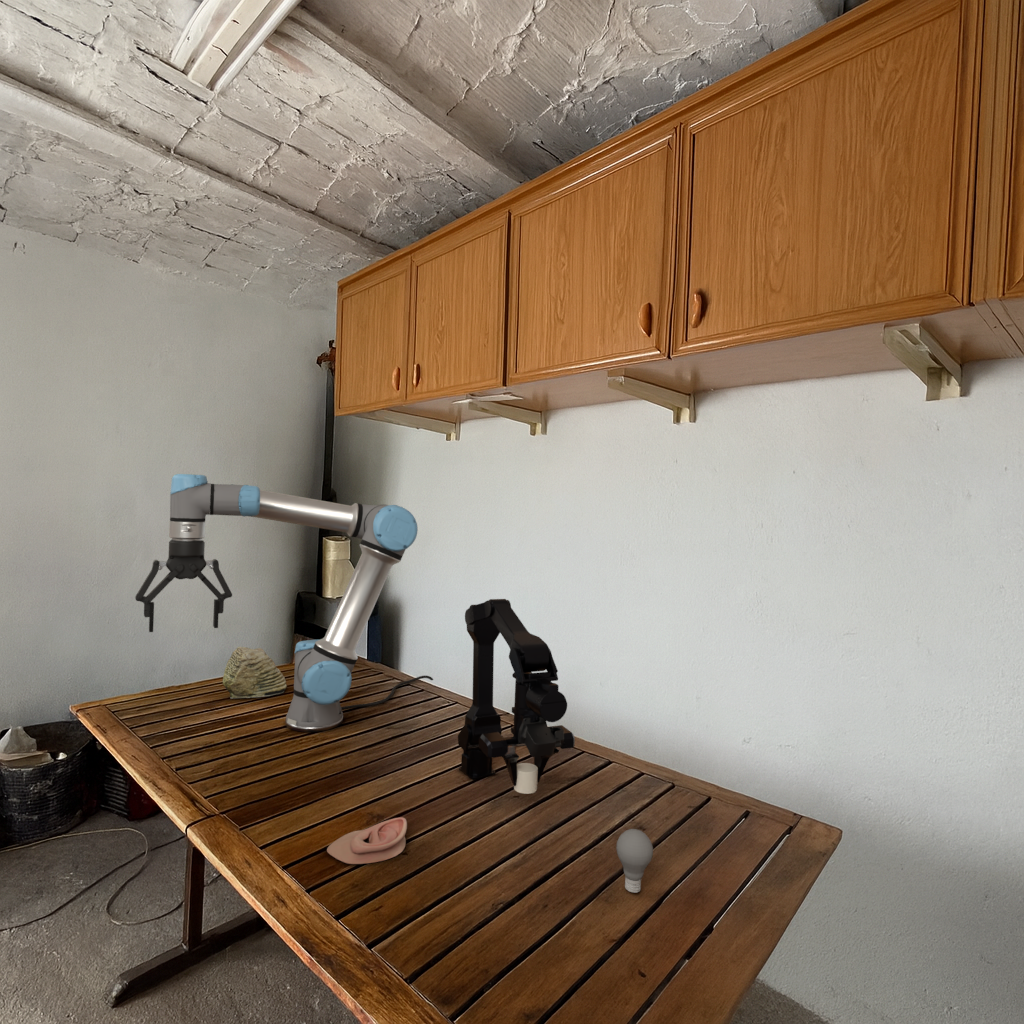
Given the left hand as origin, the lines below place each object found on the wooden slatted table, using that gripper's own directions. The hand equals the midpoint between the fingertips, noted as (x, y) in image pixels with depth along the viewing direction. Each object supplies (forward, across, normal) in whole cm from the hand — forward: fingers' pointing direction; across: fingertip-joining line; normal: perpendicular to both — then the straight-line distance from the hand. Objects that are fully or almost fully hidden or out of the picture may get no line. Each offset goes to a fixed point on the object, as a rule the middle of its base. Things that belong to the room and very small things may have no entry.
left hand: (184, 629), depth 150 cm
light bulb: (+30, +61, -90) cm, 113 cm away
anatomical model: (+30, +26, -58) cm, 71 cm away
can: (+23, +56, -64) cm, 88 cm away
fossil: (+30, +24, +41) cm, 57 cm away
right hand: (+22, +56, -64) cm, 88 cm away
